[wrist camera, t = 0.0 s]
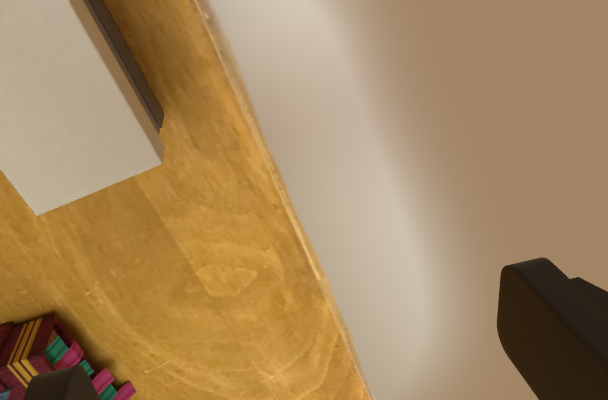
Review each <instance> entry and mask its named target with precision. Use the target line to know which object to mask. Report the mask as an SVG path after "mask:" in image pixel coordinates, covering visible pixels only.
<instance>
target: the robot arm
mask: <svg viewBox="0 0 608 400" xmlns="http://www.w3.org/2000/svg"><path fill="white" fill-rule="evenodd" d="M497 330H498V335H499V338H500V342H501V344H502V346H503V348H504V351H505V352H506V354H507V356H508V357H509V359H510V360H511V361H512V363H513V364H514V365H515V367H516V368H517V370H518V371H519V372H520V374H521V375H522V377H523V378H524V379H525V381H526V382H527V384H528V385H529V386H530V388H531V389H532V391H533V392H534V393H535V395H536V396H537V398H538V399H539V400H608V292H607V291H605V290H603V289H601V288H599V287H597V286H595V285H593V284H591V283H589V282H587V281H585V280H583V279H581V278H579V277H577V278H573V279H569V278H568V277H567V276H566V275H565V274H563V272H562V271H561V270H559V269H558V268H557V267H556V266H555V265H554V264H553V263H552V262H551V261H550V260H548V259H546V258H537V259H533V260H528V261H524V262H521V263H516V264H511V265H507V266H505V267H504V268H503V269H502V271H501V278H500V291H499V302H498V315H497ZM23 400H101V399H100V397H99V395H98V393H97V391H96V389H95V387H94V385H93V384H92V382H91V380H90V378H89V376H88V374H87V372H86V370H85V369H84V368H83V367H82V366H80V365H76V366H72V367H68V368H64V369H59V370H55V371H51V372H47V373H42V374H38V375H35V376H34V377H33V378H32V379H31V380H30V382H29V384H28V387H27V390H26V392H25V395H24V398H23Z"/></svg>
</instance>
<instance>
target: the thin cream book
mask: <svg viewBox="0 0 608 400" xmlns="http://www.w3.org/2000/svg"><path fill="white" fill-rule="evenodd" d="M164 149H165V146H164V144H163V142H162V140H161V139H160V137H159V135H158V133H157V131H156V130H155V128H154V126H153V124H152V123H151V121H150V119H149V117H148V115H147V114H146V112H145V110H144V108H143V106H142V105H141V103H140V101H139V99H138V98H137V96H136V94H135V92H134V90H133V89H132V87H131V85H130V83H129V82H128V80H127V78H126V76H125V74H124V73H123V71H122V69H121V67H120V66H119V64H118V62H117V60H116V58H115V57H114V55H113V53H112V51H111V50H110V48H109V46H108V44H107V42H106V41H105V39H104V37H103V35H102V34H101V32H100V30H99V28H98V26H97V25H96V23H95V21H94V19H93V18H92V16H91V14H90V12H89V10H88V9H87V7H86V5H85V3H84V1H83V0H0V170H1V171H2V173H3V174H4V175H5V176H6V178H7V179H8V180H9V182H10V183H11V184H12V185H13V187H14V188H15V189H16V191H17V192H18V193H19V194H20V196H21V197H22V198H23V199H24V201H25V202H26V203H27V205H28V206H29V207H30V208H31V210H32V211H33V212H34V214H35V215H36V216H38V215H41V214H43V213H46V212H48V211H50V210H53V209H55V208H58V207H60V206H63V205H65V204H67V203H70V202H72V201H75V200H77V199H79V198H82V197H84V196H87V195H89V194H91V193H94V192H96V191H99V190H101V189H103V188H106V187H108V186H111V185H113V184H115V183H118V182H120V181H123V180H125V179H127V178H130V177H132V176H135V175H137V174H140V173H142V172H144V171H147V170H149V169H152V168H154V167H156V166H159V165H161V164H162V163H163V156H164Z"/></svg>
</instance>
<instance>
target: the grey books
mask: <svg viewBox="0 0 608 400" xmlns="http://www.w3.org/2000/svg"><path fill="white" fill-rule="evenodd" d="M83 1H84V3H85V5H86V7H87V9H88V10H89V12H90V14H91V16H92V18H93V19H94V21H95V23H96V25H97V26H98V28H99V30H100V32H101V34H102V35H103V37H104V39H105V41H106V42H107V44H108V46H109V48H110V50H111V51H112V53H113V55H114V57H115V58H116V60H117V62H118V64H119V66H120V67H121V69H122V71H123V73H124V74H125V76H126V78H127V80H128V82H129V83H130V85H131V87H132V89H133V90H134V92H135V94H136V96H137V98H138V99H139V101H140V103H141V105H142V106H143V108H144V110H145V112H146V114H147V115H148V117H149V119H150V121H151V123H152V124H153V126H154V128H155V130H156V131H157V133H158V135H159V131H160V129H161V128H162V123H163V118H164V113H163V111H162V109H161V107H160V105H159V103H158V101H157V100H156V98H155V96H154V94H153V92H152V90H151V89H150V87H149V85H148V83H147V81H146V79H145V77H144V76H143V74H142V72H141V70H140V68H139V66H138V65H137V63H136V61H135V59H134V57H133V55H132V53H131V52H130V50H129V48H128V46H127V44H126V42H125V41H124V39H123V37H122V35H121V33H120V31H119V29H118V28H117V26H116V24H115V22H114V20H113V18H112V17H111V15H110V13H109V11H108V9H107V7H106V5H105V4H104V2H103V0H83Z"/></svg>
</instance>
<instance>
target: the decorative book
mask: <svg viewBox="0 0 608 400" xmlns="http://www.w3.org/2000/svg"><path fill="white" fill-rule="evenodd" d="M76 365H80V366H82V367H83V368H84V369H85V370H86V372H87V374H88V376H89V378H90V380H91V382H92V384H93V385H94V387H95V389H96V391H97V393H98V395H99V397H100V399H101V400H128V399H129V398H130V397H131V396H132V395H134V394H135V393H136V390H135V389H134V387H133V386H132V385H131V383H130V382H128V383H126V384H125V385H124V386H123V387H122V388H121V389H120V390H119V391H118V392H117V391H116V390H115V389H114V387H113V386H112V385H111V382H112V381H113V380H115V379H114V377H113V376H112V375H111V373H110V372H109V370H108V369H107V368H105V369H104V370H103V371H102V372H101V373H99V374H98V372H97V371H96V369H95V368H94V367H93V365H92V364H91V363H90V361H89V360H88V359H87V357H86V356H85V355H84V352H83V350H82V349H81V348H80V346H79V345H78V344H77V342H76V341H75V340H73V339H72V337H71V336H70V335H69V333H68V332H67V331H66V329H65V328H64V327H63V325H62V324H61V322H60V321H59V320H58V318H57V317H56V316H55V314H52V315H49V316H46V317H43V318H40V319H37V320H34V321H31V322H28V323H25V324H23V325H20V326H17V327H15V326H14V325H13V324H12V323H11V322H10V323H8V324H5V325H2V326H0V400H23V398H24V395H25V392H26V390H27V387H28V384H29V382H30V380H31V379H32V378H33V377H34V376H35V375H38V374H42V373H47V372H51V371H55V370H59V369H64V368H68V367H72V366H76Z"/></svg>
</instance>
